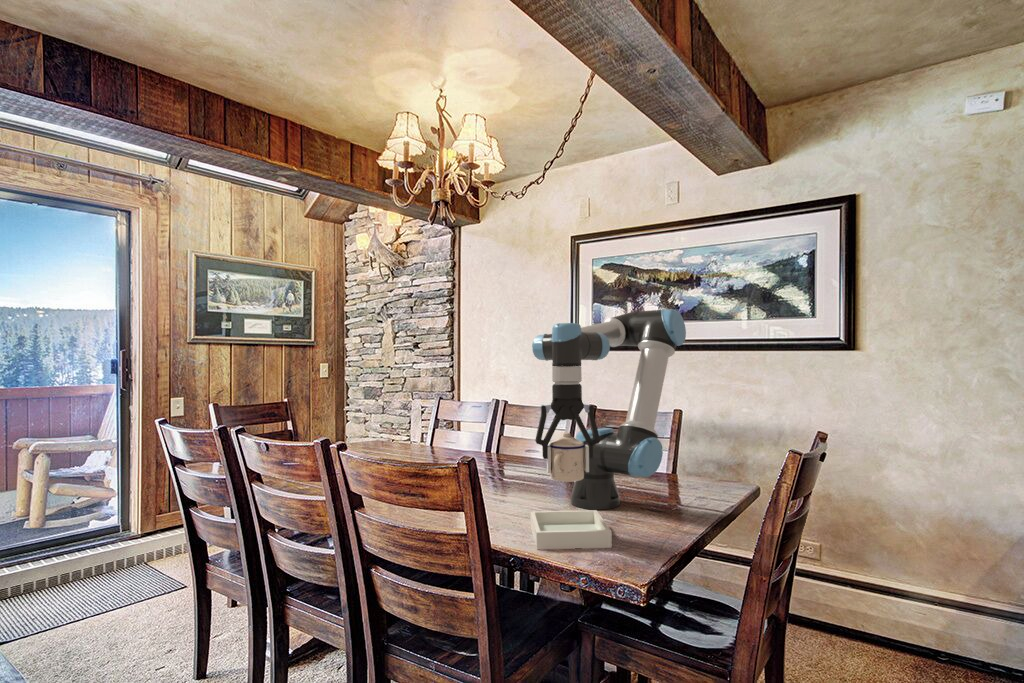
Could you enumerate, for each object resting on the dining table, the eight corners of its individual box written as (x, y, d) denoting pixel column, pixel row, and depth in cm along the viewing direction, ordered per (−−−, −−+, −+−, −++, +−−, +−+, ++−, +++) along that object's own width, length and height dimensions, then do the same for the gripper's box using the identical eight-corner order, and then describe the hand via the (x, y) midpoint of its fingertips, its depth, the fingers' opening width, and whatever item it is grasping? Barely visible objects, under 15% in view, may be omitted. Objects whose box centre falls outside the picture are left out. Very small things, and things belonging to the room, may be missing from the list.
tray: (596, 524, 149) (596, 510, 149) (611, 547, 131) (611, 530, 131) (530, 526, 148) (530, 511, 148) (536, 549, 130) (536, 532, 130)
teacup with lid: (557, 473, 147) (557, 429, 147) (589, 476, 143) (589, 431, 143) (539, 482, 136) (538, 435, 137) (573, 486, 132) (573, 437, 133)
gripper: (605, 382, 145) (606, 467, 144) (523, 383, 144) (524, 469, 143) (612, 383, 137) (613, 473, 136) (525, 384, 136) (526, 475, 135)
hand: (567, 471), depth 140 cm, fingers closed on teacup with lid, 9 cm apart
